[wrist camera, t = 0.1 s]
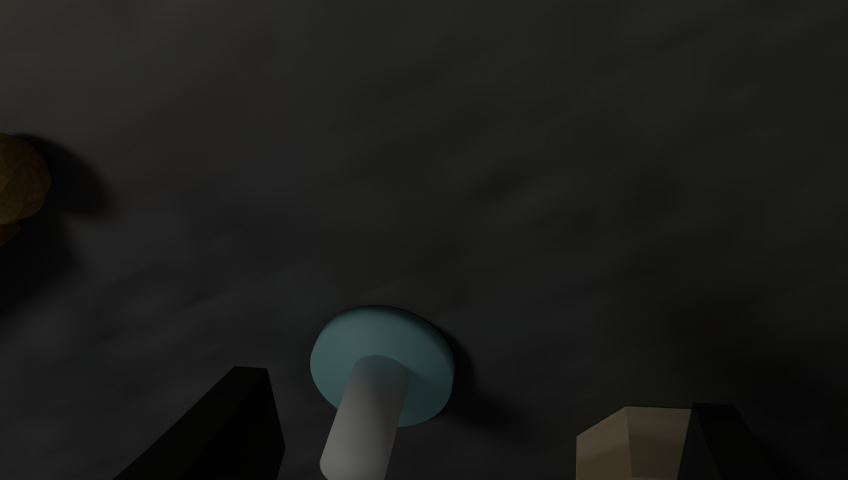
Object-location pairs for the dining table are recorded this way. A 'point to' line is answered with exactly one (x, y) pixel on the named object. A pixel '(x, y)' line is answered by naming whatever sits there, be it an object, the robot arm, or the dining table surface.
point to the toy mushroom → (377, 384)
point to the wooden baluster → (20, 183)
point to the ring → (633, 445)
